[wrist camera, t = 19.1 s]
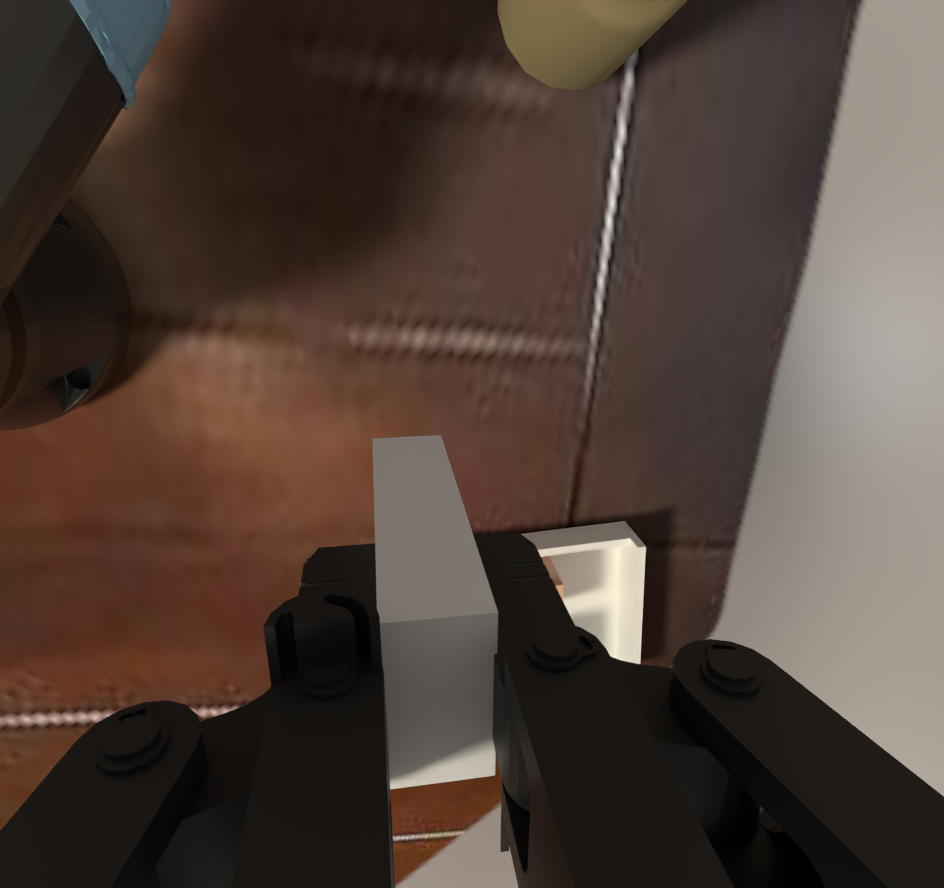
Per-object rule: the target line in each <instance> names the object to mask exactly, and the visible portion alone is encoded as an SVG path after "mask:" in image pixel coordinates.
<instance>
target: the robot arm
mask: <svg viewBox="0 0 944 888" xmlns="http://www.w3.org/2000/svg"><path fill="white" fill-rule="evenodd" d="M171 5H172V0H0V431H5V430H16V429H23V428H28V427H32V426H36V425H40V424H43V423H46V422H49V421H52V420H54V419H56V418H59V417H61V416H63V415H65V414H67V413H68V412H70V411H72V410H73V409H75V408H76V407H78V406H79V405H81V404H82V403H84V402H85V401H87V400H88V399H90V398H91V397H93V396H94V395H95V394H96V393H97V392H99V391H100V390H101V389H102V388H103V387H104V386H105V385H106V383H107V382H108V381H109V380H110V379H111V377H112V376H113V375H114V373H115V371H116V370H117V368H118V366H119V364H120V362H121V360H122V358H123V356H124V353H125V350H126V347H127V343H128V339H129V333H130V322H131V312H130V301H129V295H128V290H127V286H126V282H125V279H124V276H123V273H122V270H121V268H120V266H119V263H118V261H117V259H116V257H115V255H114V253H113V251H112V249H111V248H110V246H109V244H108V243H107V241H106V240H105V238H104V237H103V235H102V234H101V233H100V231H99V230H98V229H97V227H96V226H95V225H94V224H93V222H92V221H91V220H90V219H89V218H88V217H87V216H86V215H85V214H84V213H83V212H82V211H81V210H80V209H79V208H78V207H77V206H76V205H75V204H74V203H73V202H71V201H70V200H69V199H68V197H69V195H70V194H71V192H72V190H73V189H74V187H75V186H76V184H77V182H78V181H79V179H80V177H81V176H82V174H83V172H84V171H85V169H86V167H87V166H88V164H89V162H90V161H91V159H92V157H93V156H94V154H95V152H96V151H97V149H98V147H99V146H100V144H101V142H102V141H103V139H104V138H105V136H106V134H107V133H108V131H109V129H110V128H111V126H112V124H113V123H114V121H115V119H116V118H117V116H118V114H119V113H120V111H121V109H122V108H125V109H127V110H128V109H129V108H130V107H131V105H132V104H133V103H134V101H135V97H136V90H135V84H136V82H137V80H138V78H139V76H140V74H141V73H142V71H143V69H144V67H145V65H146V63H147V61H148V59H149V58H150V56H151V54H152V52H153V50H154V48H155V46H156V44H157V43H158V41H159V39H160V37H161V35H162V33H163V31H164V29H165V28H166V25H167V23H168V20H169V16H170V12H171ZM373 477H374V516H375V544H364V545H351V546H338V547H324V548H318V549H317V551H316V552H315V553H314V554H313V555H312V556H311V557H310V558H309V559H308V561H307V562H306V563H305V564H304V567H303V573H302V578H301V587H300V590H299V596H297V597H295V598H292V599H290V600H288V601H285V602H284V603H283V604H282V605H280V606H279V607H278V608H277V609H275V610H274V611H273V612H272V613H271V614H270V616H269V617H268V619H267V621H266V623H265V625H264V626H263V628H264V635H265V642H266V649H267V656H268V663H269V670H270V678H271V688H270V689H269V690H268V691H267V692H265V693H264V694H263V695H262V696H260V697H258V698H257V699H255V700H254V701H252V702H250V703H249V704H247V705H244V706H242V707H240V708H237V709H235V710H233V711H230V712H227V713H225V714H222V715H219V716H216V717H213V718H210V719H207V720H204V721H201V722H199V717H198V715H197V714H196V713H195V712H193V711H192V710H191V709H190V708H189V707H188V706H187V705H184V704H179V703H175V702H171V701H156V702H144V703H141V704H138V705H135V706H132V707H129V708H126V709H122V710H119V711H117V712H116V713H114V714H112V715H110V716H109V717H107V718H105V719H103V720H102V721H100V722H98V723H96V724H95V725H94V726H92V727H91V728H90V729H89V730H88V731H87V732H86V733H85V734H84V735H83V736H82V737H80V738H79V739H78V740H77V741H76V742H75V743H74V744H73V745H72V747H71V748H70V749H69V750H68V751H67V753H66V754H65V755H64V756H63V757H62V759H61V760H60V761H59V762H58V763H57V764H56V766H55V767H54V768H53V769H52V770H51V772H50V773H49V774H48V775H47V776H46V778H45V779H44V780H43V781H42V782H41V783H40V785H39V786H38V787H37V788H36V789H35V791H34V792H33V793H32V794H31V795H30V797H29V798H28V799H27V800H26V801H25V802H24V804H23V805H22V806H21V807H20V808H19V810H18V811H17V812H16V813H15V814H14V816H13V817H12V818H11V819H10V820H9V821H8V823H7V824H6V825H5V826H4V827H3V829H2V830H1V831H0V888H395V879H394V856H393V834H392V815H391V799H390V789H396V788H404V787H411V786H419V785H426V784H434V783H441V782H449V781H456V780H464V779H471V778H479V777H486V776H494V775H495V751H496V755H497V760H498V764H499V768H500V772H501V777H502V804H501V852H503V851H509V846H510V850H511V855H512V859H513V864H514V869H515V873H516V877H517V882H518V887H519V888H944V797H943V796H942V795H941V794H940V793H938V792H937V791H936V790H934V789H933V788H932V787H931V786H929V785H928V784H927V783H926V782H924V781H923V780H922V779H920V778H919V777H918V776H917V775H916V774H914V773H913V772H912V771H910V770H909V769H908V768H907V767H905V766H904V765H903V764H902V763H900V762H899V761H898V760H896V759H895V758H894V757H893V756H891V755H890V754H889V753H887V752H886V751H885V750H883V748H881V747H880V746H879V745H877V744H876V743H875V742H873V741H872V740H871V739H870V738H869V737H867V736H866V735H865V734H863V733H862V732H861V731H859V730H858V729H857V728H856V727H855V726H853V725H852V724H851V723H849V722H848V721H847V720H846V719H844V718H843V717H842V716H841V715H839V714H838V713H837V712H835V711H834V710H833V709H832V708H830V707H829V706H828V705H827V704H825V703H824V702H823V701H822V700H820V699H819V698H818V697H817V696H815V695H814V694H813V693H811V692H810V691H809V690H808V689H806V688H805V687H804V686H803V685H801V684H800V683H799V682H797V681H796V680H795V679H794V678H792V677H791V676H790V675H789V674H787V673H786V672H785V671H784V670H782V669H781V668H779V667H778V666H777V665H776V664H774V663H773V662H772V661H771V660H769V659H768V658H766V657H764V656H763V655H761V654H759V653H758V652H756V651H754V650H753V649H750V648H748V647H745V646H742V645H739V644H736V643H733V642H729V641H720V640H712V639H709V640H702V641H694V642H691V643H689V644H688V645H686V646H684V647H682V648H680V649H679V651H678V653H677V655H676V656H675V658H674V660H673V667H672V668H667V667H659V666H651V665H643V664H636V663H631V662H626V661H622V660H619V659H616V658H613V657H611V656H610V655H609V653H608V651H607V649H606V648H605V646H604V645H603V644H602V643H601V642H600V641H599V639H598V638H597V637H596V636H595V635H593V634H591V633H590V632H588V631H586V630H584V629H583V628H581V627H578V626H575V624H574V622H573V620H572V618H571V616H570V614H569V612H568V610H567V608H566V606H565V604H564V602H563V600H562V598H561V596H560V594H559V592H558V590H557V588H556V586H555V584H554V582H553V580H552V578H550V574H549V572H548V570H547V568H546V566H545V564H543V560H542V558H541V556H540V554H539V552H538V550H537V548H536V546H535V544H534V543H532V542H531V541H530V540H528V539H527V538H526V537H524V536H523V535H521V534H520V533H519V532H517V531H509V532H496V533H482V534H473V533H472V530H471V527H470V524H469V521H468V518H467V515H466V512H465V508H464V505H463V502H462V499H461V496H460V493H459V490H458V487H457V484H456V481H455V478H454V474H453V471H452V468H451V465H450V462H449V459H448V456H447V453H446V450H445V447H444V444H443V441H442V437H441V435H435V436H415V437H396V438H377V439H373Z"/></svg>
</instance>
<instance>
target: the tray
mask: <svg viewBox="0 0 944 888" xmlns="http://www.w3.org/2000/svg"><path fill="white" fill-rule="evenodd" d="M521 535H523V536H524V537H526V538H527V539H528V540H530V541H531V542H532V543H534V544H535V546H536V548H537V550H538V552H539V554H540V556H541V557H543V556H549V557H550V559H551V561H552V563H553V565H554V567H555V569H556V571H557V573H558V575H559V577H560V579H561V581H562V583H563V585H564V587H563V602H564V604H565V606H566V608H567V610H568V612H569V614H570V616H571V618H572V620H573V622H574V624H575V626H578V627H581V628H583V629H584V630H586V631H588V632H590V633H591V634H593V635H595V636H596V637H597V638H598V639H599V641H600V642H601V643H602V644H603V645H604V646H605V648H606V649H607V651H608V653H609V655H610V656H611V657H613V658H616V659H619V660H622V661H626V662H631V663H636V664H640V658H641V638H642V617H643V596H644V575H645V555H646V546H645V545H644V544H643V542H642V541H641V540H640V539H639V538H638V536H637V535H636V534H635V533H634V531H633V530H632V529H631V528H630V527H629V525H628V524H627V523H626V522H625V521H621V522H613V523H605V524H597V525H589V526H580V527H572V528H564V529H556V530H548V531H540V532H532V533H524V534H521Z"/></svg>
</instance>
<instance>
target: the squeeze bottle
mask: <svg viewBox="0 0 944 888" xmlns="http://www.w3.org/2000/svg"><path fill="white" fill-rule="evenodd" d="M686 2H687V0H498V9H497V12H498V16H499V20H500V23H501V27H502V31H503V35H504V38H505V42H506V46H507V47H508V48H509V50H510V51H511V53H512V54H513V55H514V57H515V58H516V60H517V61H518V63H519V64H520V65H521V67H522V68H523V70H524V71H525V72H526V73H528V74H529V75H531V76H533V77H534V78H536V79H537V80H539V81H541V82H542V83H544V84H546V85H547V86H549V87H552V88H561V89H570V90H580V89H583V88H586V87H589V86H591V85H594V84H597V83H600V82H602V81H605V80H606V79H607V78H608V77H609V76H610V75H611V74H612V73H614V72H615V71H616V70H617V69H618V68H619V67H620V66H621V65H622V64H623V63H624V62H625V61H626V60H627V59H628V58H629V57H630V56H631V55H632V54H634V53H635V52H636V51H637V50H638V49H639V48H640V47H641V46H642V45H643V44H644V43H645V42H646V41H647V40H648V39H649V38H650V37H651V36H652V35H653V34H654V33H655V32H656V31H657V30H658V29H659V28H660V27H661V26H662V25H663V24H664V23H665V22H666V21H667V20H668V19H670V18H671V17H672V16H673V15H674V14H675V13H676V12H677V11H678V10H679V9H680V8H681V7H682V6H683V5H684V4H685V3H686Z"/></svg>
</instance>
